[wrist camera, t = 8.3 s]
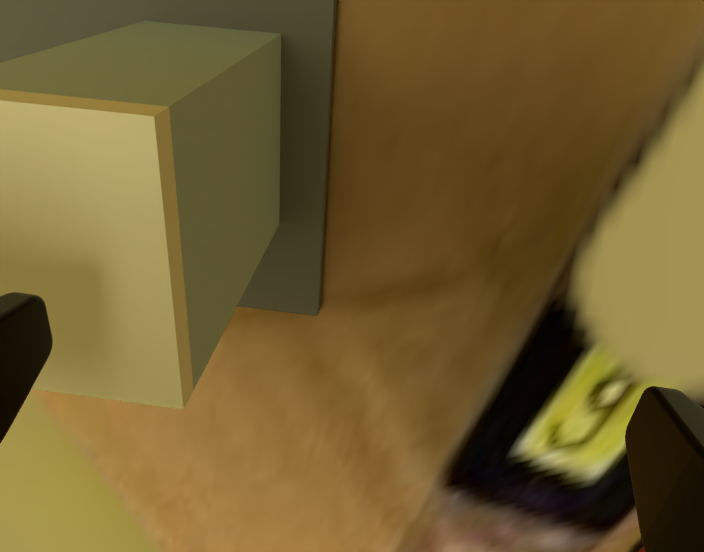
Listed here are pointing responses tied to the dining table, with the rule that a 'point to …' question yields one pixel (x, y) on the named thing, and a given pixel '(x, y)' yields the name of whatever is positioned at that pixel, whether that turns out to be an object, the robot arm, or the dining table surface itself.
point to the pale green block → (139, 199)
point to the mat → (295, 110)
